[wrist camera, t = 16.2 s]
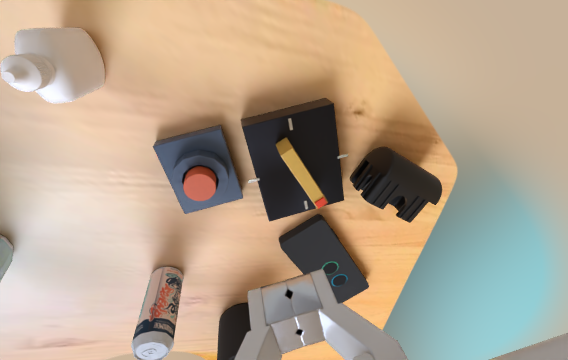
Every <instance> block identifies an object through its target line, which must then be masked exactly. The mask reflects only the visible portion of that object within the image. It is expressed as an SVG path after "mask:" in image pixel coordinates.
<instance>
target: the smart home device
mask: <svg viewBox="0 0 568 360" xmlns="http://www.w3.org/2000/svg"><path fill="white" fill-rule="evenodd" d="M279 242H280V246H281V248H282V250H283V251H284V252H285V253H286V254H287V256H288V257H289V258H290V259H291V260H292V261H293V263H294V264H295V265H296V266H297V267H298V268H299V269H300V271H301V272H302V273H303V274H306V273H310V272H314V271H317V270H320V269H323V270H324V272H325V275H326V277H327V279H328V282H329V284H330V286H331V289H332V291H333V293H334V296H335V298H336V301H337V303H338V304H339V303H343V302H344V301H346V300H348V299H350V298H351V297H353V296H355V295H357V294H359V293H360V292H362V291H364V290H366V289H367V288H369V285H368V283H367V281H366V279H365V277H364V276H363V274H362V273H361V272H360V270H359V269H358V267H357V266H356V264H355V263H354V261H353V260H352V258H351V257H350V256H349V254H348V253H347V251H346V250H345V248H344V247H343V245H342V244H341V242H340V241H339V239H338V237H337V235H336V234H335V233H334V231H333V230H332V228H330V226H329V225H328V223H327V222H326V221H325V219H324V218H323V216H322V215H320V214H317V215H315V216H314V217H312V218H311V219H309V220H307V221H306V222H304V223H302V224H301V225H299V226H297V227H296V228H294V229H293V230H291V231H289V232H288V233H286V234H284V235H283V236H281V237H280V238H279Z"/></svg>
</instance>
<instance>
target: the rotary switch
mask: <svg viewBox="0 0 568 360" xmlns="http://www.w3.org/2000/svg"><path fill="white" fill-rule="evenodd" d="M241 124H242V128H243V132H244V135H245V139H246V142H247V146H248V149H249V153H250V156H251V160H252V163H253V167H254V170H255V174H256V177H257V178H254V179H251V180H248V181H249V183H251V182H255V181H258V184H259V188H260V191H261V195H262V198H263V202H264V205H265V209H266V212H267V216H268V219H269V221H273V220H276V219H280V218H283V217H287V216H290V215H294V214H297V213H301V212H304V211H308V210H311V209H315V208H316V206H315V205H314V203H313V202H312V201H311V199H310V198H309V196H308V195H307V193H306V192H305V190H304V189H303V188H302V186H301V185H300V183H299V182H298V180H297V179H296V177H295V176H294V175H293V173H292V172H291V170H290V169H289V167H288V166H287V164H286V163H285V162H284V160H283V159H282V157H281V156H280V153H279V151H278V149H277V147H276V144H277V143H278V142H280V141H281V140H283V139H284V138H287V139H288V140H289V142H290V143H291V145H292V146H293V148H294V150H295V151H296V153H297V154H298V156H299V157H300V159H301V160H302V162H303V163H304V165H305V167H306V168H307V170H308V171H309V173H310V174H311V176H312V177H313V179H314V180H315V182H316V183H317V185H318V187H319V188H320V190H321V191H322V193H323V195H324V196H325V198H326V199H327V201H328V203H327V204H325V205H329V204H333V203H336V202H340V201H343V200H344V194H343V185H342V176H341V167H340V158H343V157H346V156H348V153H346V154H343V155H339V148H338V139H337V129H336V120H335V111H334V103H332V102H331V101H329V100H328V99H326V98H324V99H320V100H316V101H312V102H308V103H304V104H300V105H296V106H292V107H288V108H285V109H281V110H277V111H273V112H269V113H265V114H261V115H257V116H253V117H249V118H245V119H241ZM325 205H324V206H325Z"/></svg>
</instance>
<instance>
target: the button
mask: <svg viewBox="0 0 568 360" xmlns="http://www.w3.org/2000/svg"><path fill="white" fill-rule="evenodd" d="M183 189H184V192H185V194H186V195H187V196H188V197H189V198H190V199H192V200H195V201H205V200H208V199H209V198H211V197H212V196H213V195H214V193H215V191H216V176H215V174H214V172H213V171H212V170H210V169H209V168H207V167H203V166H198V167H194V168H192V169H190V170H189V171H188V172H187V174H186V176H185V181H184V185H183Z"/></svg>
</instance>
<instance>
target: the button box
mask: <svg viewBox="0 0 568 360" xmlns="http://www.w3.org/2000/svg"><path fill="white" fill-rule="evenodd" d="M153 148H154V150H155V152H156V154H157V156H158V158H159V160H160V162H161V165H162V167H163V169H164V171H165V173H166V175H167V177H168V179H169V182H170V184H171V186H172V188H173V190H174V192H175V194H176V196H177V199H178V201H179V203H180V205H181V207H182V209H183V211H184V213H185V214H187V213H191V212H194V211H198V210H202V209H205V208H209V207H213V206H216V205H220V204H223V203H227V202H231V201H234V200H238V199H242V198H243V193H242V189H241V186H240V183H239V180H238V177H237V174H236V171H235V167H234V164H233V161H232V158H231V155H230V152H229V149H228V146H227V143H226V140H225V137H224V134H223V131H222V127H221V125H218V126H214V127H210V128H206V129H202V130H198V131H195V132H191V133H187V134H183V135H179V136H175V137H171V138H167V139H163V140H159V141H156V142H155V144H154V146H153ZM198 166H203V167H207V168H209V169H210V170H212V171H213V172H214V174H215V176H216V191H215V193H214V195H213V196H212V197H211V198H209V199H208V200H205V201H195V200H192V199H190V198H189V197H188V196H187V195H186V194H185V192H184V189H183V185H184V181H185V176H186V174H187V172H188V171H189V170H190V169H192V168H194V167H198Z"/></svg>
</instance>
